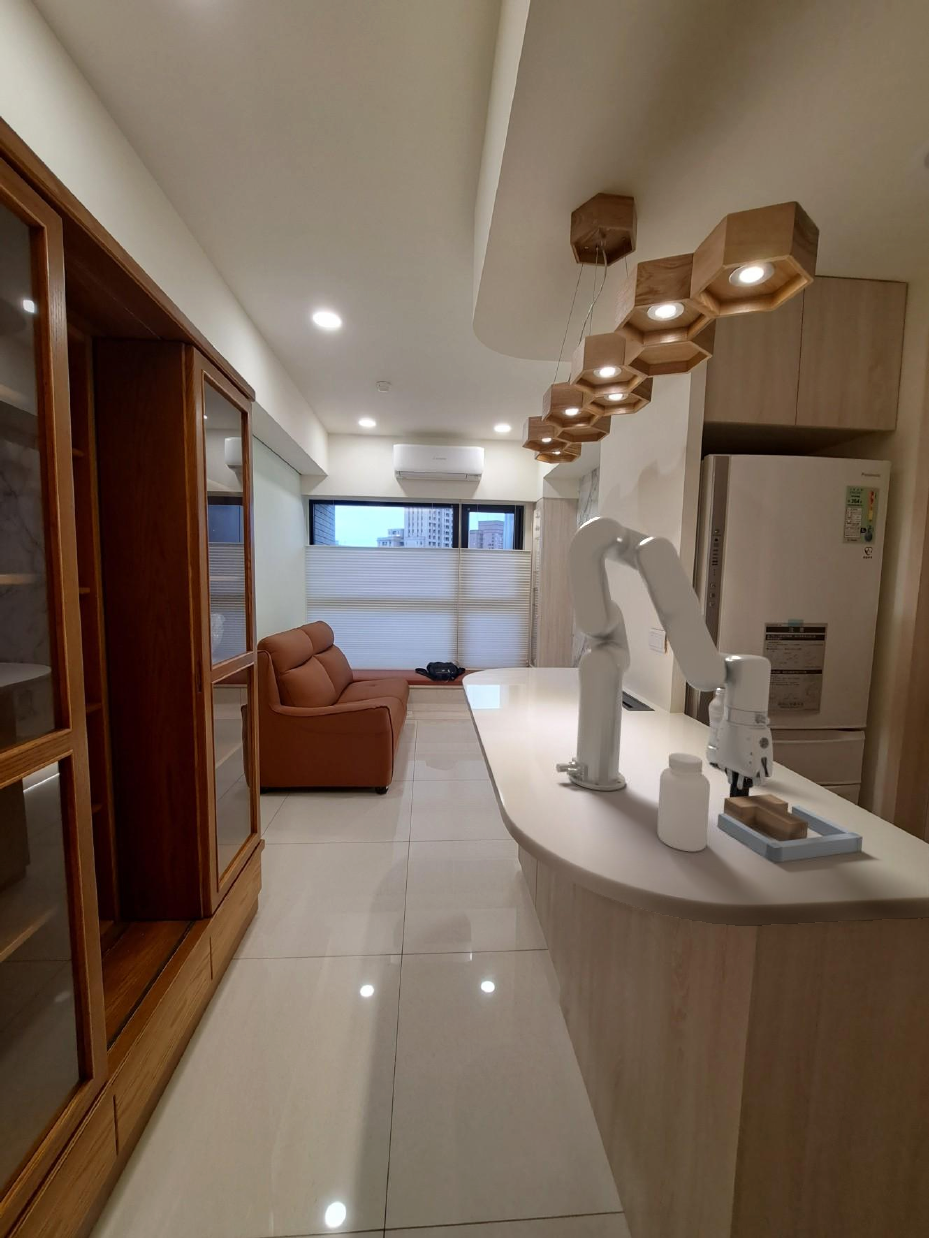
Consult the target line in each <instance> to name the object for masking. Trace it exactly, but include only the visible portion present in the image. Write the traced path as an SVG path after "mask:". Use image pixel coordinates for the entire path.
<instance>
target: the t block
mask: <svg viewBox="0 0 929 1238" xmlns="http://www.w3.org/2000/svg"><path fill="white" fill-rule="evenodd" d="M723 813H725V814H727V815H729V816H731V817H732V818H734V819H736V820H737V821H739V822H741V823H742V824H744V825H746V826H747V827H749V828H753V827H755V828H756V829H758V830H761V832H763V833H765V834H767V835H769V836H770V837H772V838H774V839H775V840H777V841H778V842H781V841H789V840H797V839H805V838H808V830H809V828H808V822H807V821H805V820H803V819H801V818H799V817H797V816H795V815H793V814H791V813H792V812H789V802H787V801H785V800H783V799H781V798H780V797H777V796H774V795H773V794H771V793H769V794H767V793H766V794H757V795H749V796H743V797H732V798H729V797H724V803H723Z"/></svg>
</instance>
